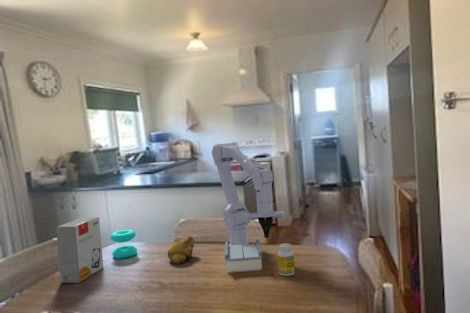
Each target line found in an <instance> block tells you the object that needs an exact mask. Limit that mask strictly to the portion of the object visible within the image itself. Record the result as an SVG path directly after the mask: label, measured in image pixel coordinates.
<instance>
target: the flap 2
mask: <svg viewBox="0 0 470 313" xmlns="http://www.w3.org/2000/svg"><path fill="white" fill-rule="evenodd" d="M242 246H243V254H244V260H249V259H261V260H262V259H263V251H262V248H261V245H260V240H259V239H255V243H249V244H245V245H242Z"/></svg>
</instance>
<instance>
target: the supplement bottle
mask: <svg viewBox="0 0 470 313" xmlns="http://www.w3.org/2000/svg"><path fill="white" fill-rule="evenodd" d="M294 255H295V253H294V251H293V250H292V245H291V243H285V242H284V243H279V245H278V251H277V263H278V264H277V265H278V273H279V275H281V276H284V277H285V276H286V277H288V276H292V275H294V274H295V271H296V270H295V269H296V268H295V256H294Z"/></svg>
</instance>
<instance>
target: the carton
mask: <svg viewBox="0 0 470 313" xmlns="http://www.w3.org/2000/svg"><path fill="white" fill-rule="evenodd" d="M242 251H243V248H242ZM225 263H226V273H227V274H231V273H232V274H233V273H244V272H245V273H246V272H256V271H257V272H258V271H263V265H262V264H263V263H262V259H249V260H244V254H243V260H236V261H226V260H225Z"/></svg>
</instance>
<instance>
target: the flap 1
mask: <svg viewBox="0 0 470 313" xmlns="http://www.w3.org/2000/svg"><path fill="white" fill-rule="evenodd" d="M224 259H225V262H226V261H236V260H243V251H242V245H232V246H230V245H229V241H225V242H224Z"/></svg>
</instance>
